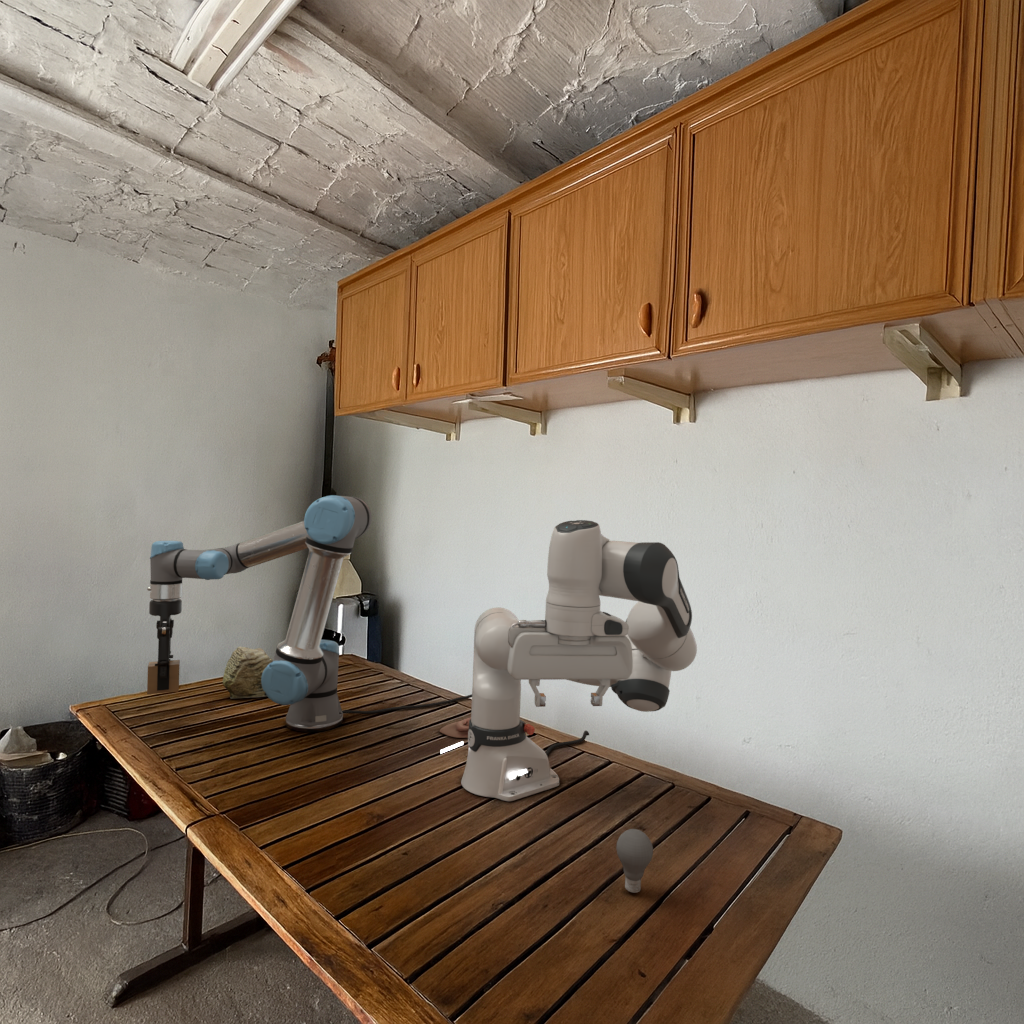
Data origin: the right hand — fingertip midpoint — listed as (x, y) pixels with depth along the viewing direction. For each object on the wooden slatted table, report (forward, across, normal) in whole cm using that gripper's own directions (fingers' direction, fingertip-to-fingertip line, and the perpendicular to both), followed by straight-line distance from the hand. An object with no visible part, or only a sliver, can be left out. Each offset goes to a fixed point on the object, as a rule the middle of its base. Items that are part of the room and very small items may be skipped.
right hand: (568, 705), depth 103 cm
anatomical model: (+32, -9, +74) cm, 81 cm away
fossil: (+32, -72, +108) cm, 133 cm away
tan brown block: (+22, -89, +81) cm, 122 cm away
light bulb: (+32, +13, 0) cm, 34 cm away
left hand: (+21, -89, +80) cm, 122 cm away
